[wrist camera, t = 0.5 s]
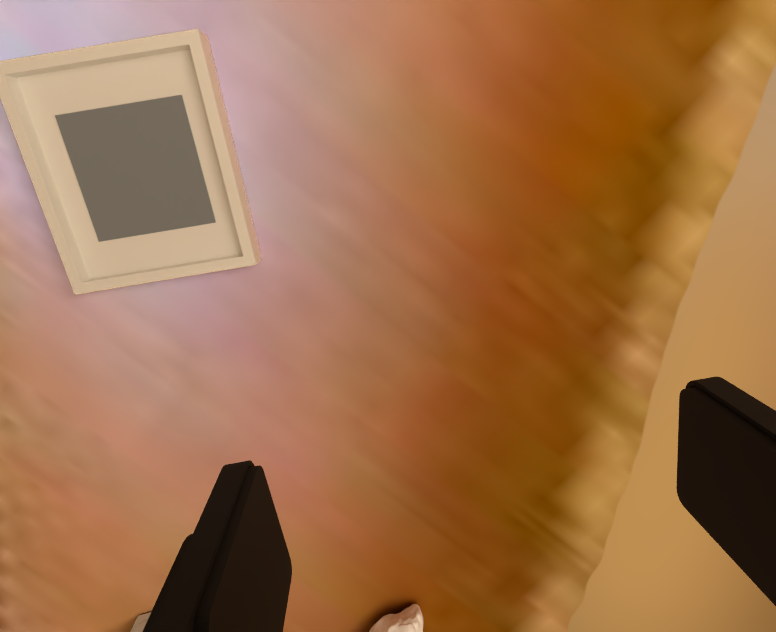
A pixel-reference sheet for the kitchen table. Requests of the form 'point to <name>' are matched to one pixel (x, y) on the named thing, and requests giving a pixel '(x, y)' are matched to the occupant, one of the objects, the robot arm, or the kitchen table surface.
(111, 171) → the tray
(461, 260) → the kitchen table surface
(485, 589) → the kitchen table surface
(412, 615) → the bust
